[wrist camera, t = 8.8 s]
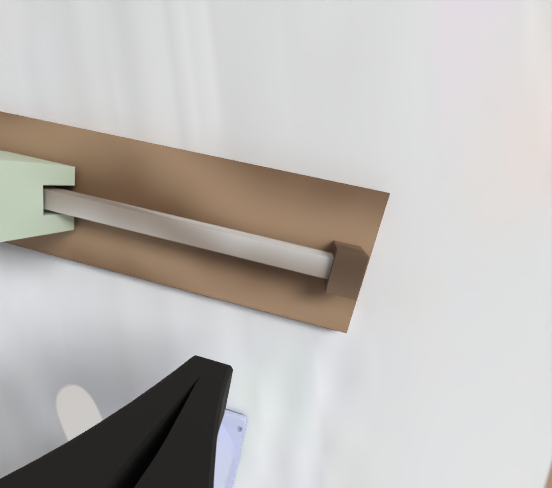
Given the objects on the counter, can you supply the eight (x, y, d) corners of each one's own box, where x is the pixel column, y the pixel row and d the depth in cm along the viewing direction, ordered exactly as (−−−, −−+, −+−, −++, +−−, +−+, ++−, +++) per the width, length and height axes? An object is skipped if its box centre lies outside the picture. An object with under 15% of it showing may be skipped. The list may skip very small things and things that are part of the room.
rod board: (344, 325, 17) (352, 362, 14) (-10, 231, 20) (-83, 241, 16) (384, 192, 15) (407, 194, 11) (-18, 108, 18) (-105, 87, 14)
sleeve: (74, 229, 17) (-8, 243, 13) (10, 213, 18) (-89, 221, 13) (75, 166, 16) (-13, 158, 12) (7, 151, 17) (-101, 138, 12)
